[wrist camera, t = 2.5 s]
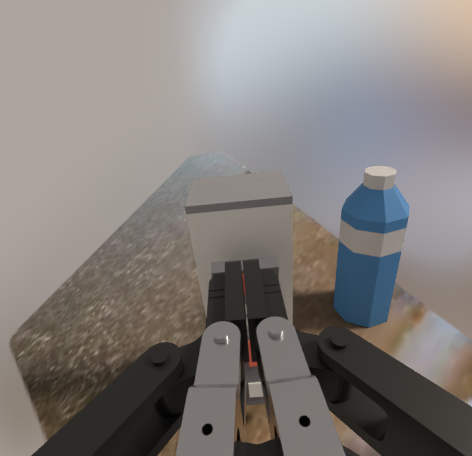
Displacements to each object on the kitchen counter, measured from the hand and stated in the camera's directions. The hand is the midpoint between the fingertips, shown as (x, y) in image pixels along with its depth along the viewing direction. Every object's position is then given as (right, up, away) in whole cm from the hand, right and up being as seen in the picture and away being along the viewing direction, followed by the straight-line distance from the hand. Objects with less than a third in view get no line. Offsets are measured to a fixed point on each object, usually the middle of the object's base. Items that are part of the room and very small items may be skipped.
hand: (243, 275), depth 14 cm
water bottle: (+22, -12, +40) cm, 47 cm away
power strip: (+2, -19, +32) cm, 37 cm away
